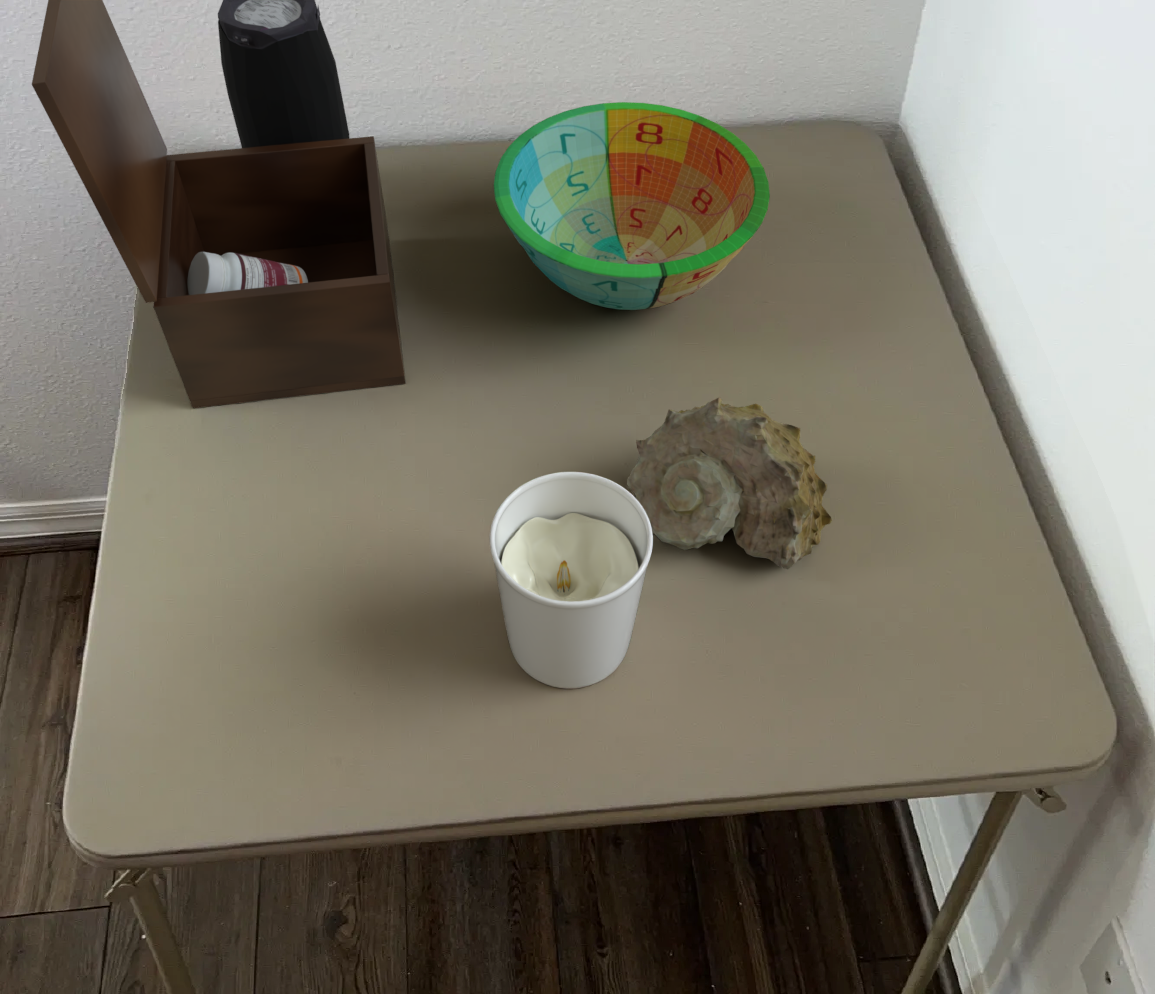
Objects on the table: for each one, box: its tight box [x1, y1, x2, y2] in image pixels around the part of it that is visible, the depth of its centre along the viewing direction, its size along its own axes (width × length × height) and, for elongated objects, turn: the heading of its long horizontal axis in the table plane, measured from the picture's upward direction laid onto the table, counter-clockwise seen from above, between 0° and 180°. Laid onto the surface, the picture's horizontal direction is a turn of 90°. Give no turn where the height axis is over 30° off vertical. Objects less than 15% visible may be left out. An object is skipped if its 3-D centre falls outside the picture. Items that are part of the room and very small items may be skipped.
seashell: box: [626, 397, 833, 570], centre depth 80 cm, size 11×14×10 cm
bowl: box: [493, 101, 771, 311], centre depth 95 cm, size 22×22×10 cm
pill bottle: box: [187, 252, 308, 295], centre depth 90 cm, size 5×5×8 cm
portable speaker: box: [217, 0, 350, 148], centre depth 97 cm, size 9×9×20 cm
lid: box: [31, 0, 168, 304], centre depth 78 cm, size 18×18×1 cm
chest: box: [152, 135, 407, 409], centre depth 91 cm, size 17×18×11 cm
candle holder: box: [488, 471, 654, 689], centre depth 72 cm, size 10×10×12 cm
